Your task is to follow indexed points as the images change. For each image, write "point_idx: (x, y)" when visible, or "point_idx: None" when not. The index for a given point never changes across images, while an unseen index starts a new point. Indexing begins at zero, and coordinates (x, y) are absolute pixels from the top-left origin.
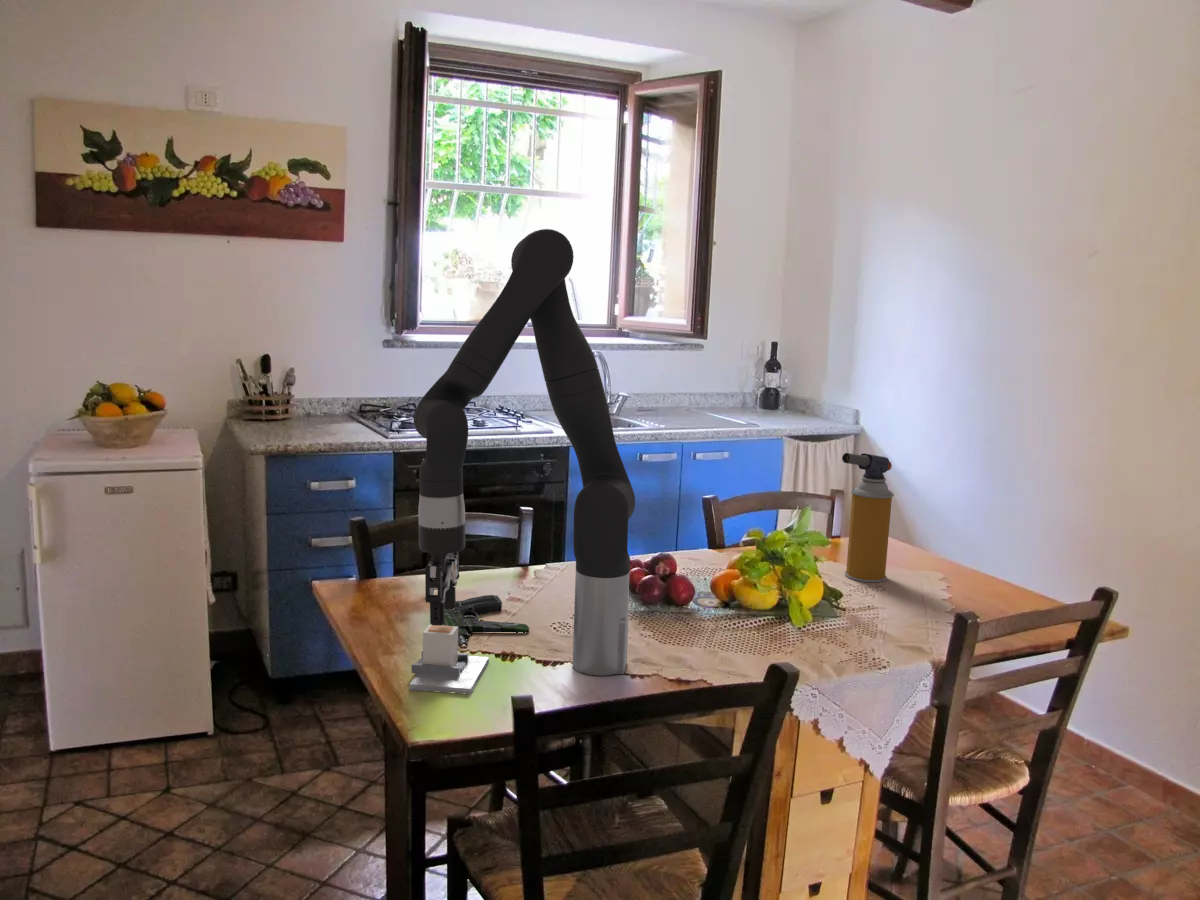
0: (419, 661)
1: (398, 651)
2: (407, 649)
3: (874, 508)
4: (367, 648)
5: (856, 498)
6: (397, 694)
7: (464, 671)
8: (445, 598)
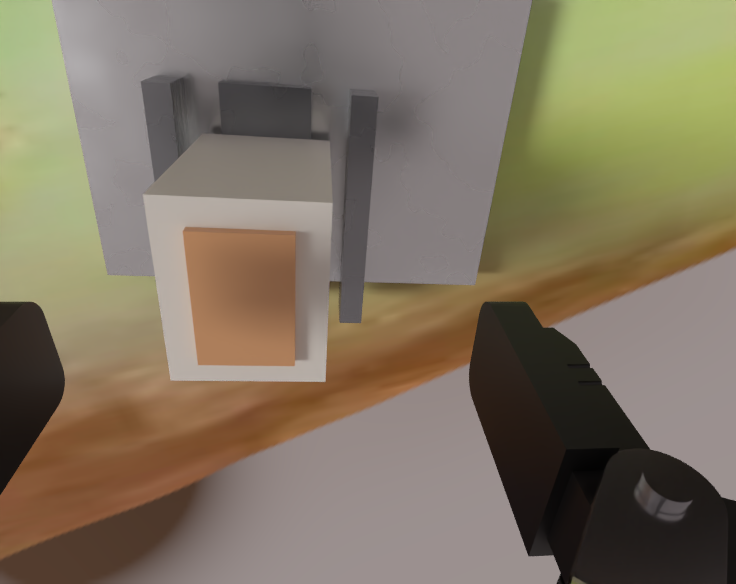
0: None
1: (93, 395)
2: None
3: None
4: (108, 482)
5: None
6: None
7: (302, 72)
8: (6, 437)
